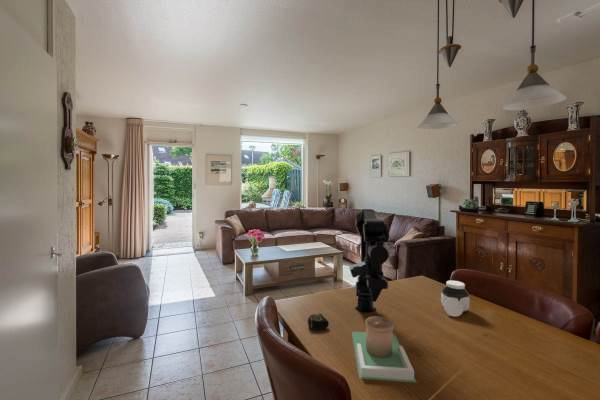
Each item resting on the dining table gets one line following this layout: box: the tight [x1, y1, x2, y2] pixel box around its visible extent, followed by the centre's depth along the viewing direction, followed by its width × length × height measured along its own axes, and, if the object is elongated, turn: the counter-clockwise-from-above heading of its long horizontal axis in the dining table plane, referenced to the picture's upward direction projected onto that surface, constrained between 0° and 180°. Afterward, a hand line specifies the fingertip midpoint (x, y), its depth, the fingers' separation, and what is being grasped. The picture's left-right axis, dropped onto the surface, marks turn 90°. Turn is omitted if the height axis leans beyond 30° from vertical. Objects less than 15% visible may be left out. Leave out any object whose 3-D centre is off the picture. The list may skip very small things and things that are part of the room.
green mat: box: [351, 331, 418, 383], centre depth 89 cm, size 25×15×1 cm, turn 174°
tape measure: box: [307, 313, 330, 330], centre depth 106 cm, size 7×7×4 cm
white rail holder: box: [357, 343, 415, 380], centre depth 83 cm, size 12×14×2 cm
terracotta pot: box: [365, 315, 395, 358], centre depth 90 cm, size 8×8×9 cm
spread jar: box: [440, 280, 470, 317], centre depth 119 cm, size 12×11×12 cm
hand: (373, 299), depth 101 cm, fingers open, 3 cm apart
